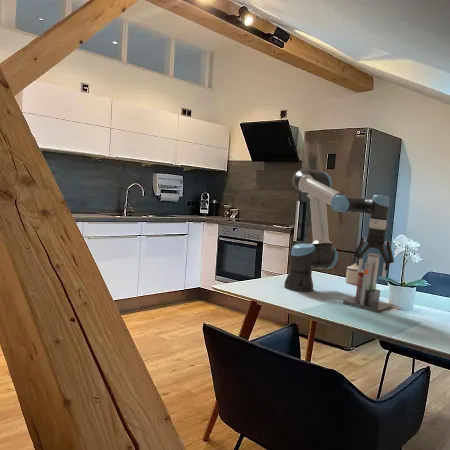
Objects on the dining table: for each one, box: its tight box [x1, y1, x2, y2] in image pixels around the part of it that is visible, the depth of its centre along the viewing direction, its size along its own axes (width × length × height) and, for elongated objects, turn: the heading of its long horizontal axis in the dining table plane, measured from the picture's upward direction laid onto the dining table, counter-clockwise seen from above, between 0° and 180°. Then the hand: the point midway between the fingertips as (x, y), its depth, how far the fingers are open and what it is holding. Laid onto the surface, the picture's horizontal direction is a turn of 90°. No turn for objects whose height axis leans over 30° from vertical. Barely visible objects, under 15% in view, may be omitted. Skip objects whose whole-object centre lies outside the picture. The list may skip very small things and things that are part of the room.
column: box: [366, 252, 382, 291], centre depth 215 cm, size 5×5×23 cm
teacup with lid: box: [345, 263, 358, 286], centre depth 273 cm, size 12×9×12 cm
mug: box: [355, 269, 364, 297], centre depth 236 cm, size 13×9×14 cm
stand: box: [342, 262, 393, 314], centre depth 215 cm, size 18×15×21 cm
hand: (371, 274), depth 215 cm, fingers open, 11 cm apart
